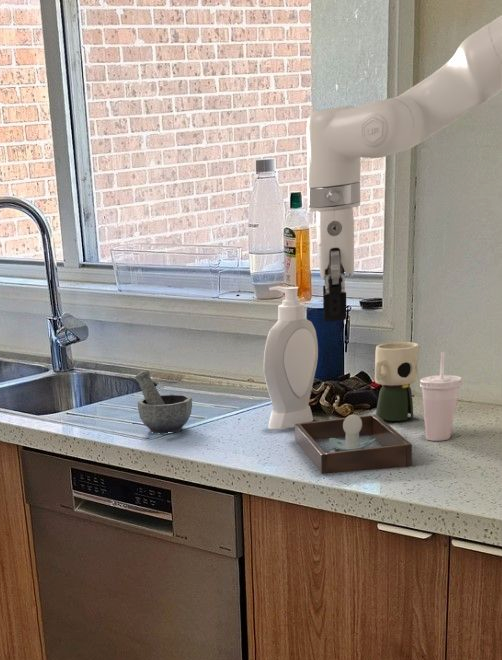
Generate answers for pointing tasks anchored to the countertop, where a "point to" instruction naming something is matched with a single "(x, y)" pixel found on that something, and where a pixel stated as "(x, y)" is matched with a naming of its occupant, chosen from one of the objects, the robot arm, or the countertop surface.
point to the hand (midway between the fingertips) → (334, 315)
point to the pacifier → (350, 436)
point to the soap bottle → (290, 363)
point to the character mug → (395, 379)
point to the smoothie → (439, 403)
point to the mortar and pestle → (162, 407)
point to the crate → (388, 456)
